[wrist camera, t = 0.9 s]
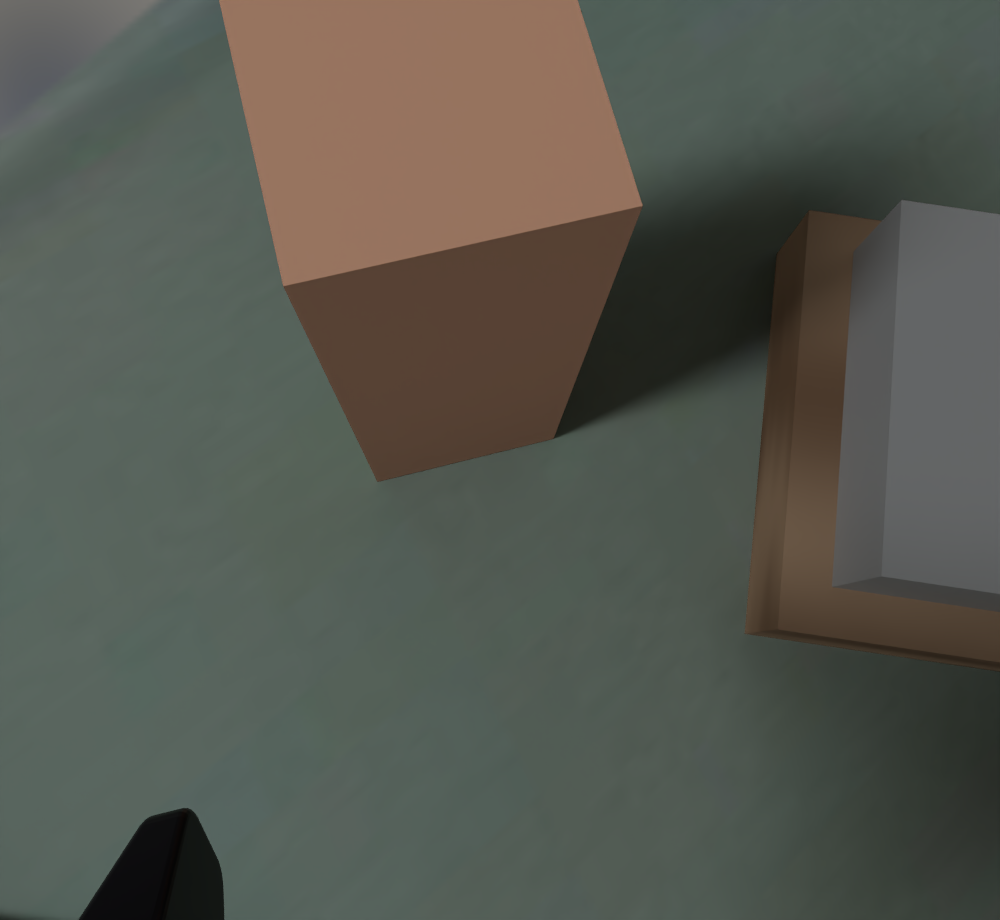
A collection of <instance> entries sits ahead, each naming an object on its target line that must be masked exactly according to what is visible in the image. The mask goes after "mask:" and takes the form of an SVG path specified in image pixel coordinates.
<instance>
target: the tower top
mask: <svg viewBox="0 0 1000 920" xmlns="http://www.w3.org/2000/svg"><path fill="white" fill-rule="evenodd" d="M832 587H835V588H842V589H848V590H855V591H862V592H869V593H875V594H882V595H889V596H895V597H902V598H909V599H915V600H922V601H929V602H936V603H942V604H949V605H956V606H962V607H969V608H976V609H982V610H989V611H996V612H1000V214H993V213H986V212H980V211H973V210H966V209H960V208H953V207H946V206H939V205H933V204H926V203H919V202H913V201H906V200H901V201H900V202H899V203H898V204H897V205H896V206H895V207H894V209H893V210H892V211H891V212H890V213H889V214H888V215H887V216H886V217H885V218H884V219H883V220H882V222H881V223H880V224H879V225H878V226H877V227H876V228H875V229H874V230H873V231H872V232H871V233H870V234H869V236H868V237H867V238H866V239H865V240H864V241H863V242H862V243H861V244H860V245H859V246H858V247H857V248H856V250H855V251H854V252H853V267H852V282H851V298H850V313H849V328H848V343H847V359H846V374H845V389H844V405H843V420H842V436H841V452H840V468H839V483H838V499H837V515H836V530H835V546H834V562H833V578H832Z"/></svg>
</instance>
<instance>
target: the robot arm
mask: <svg viewBox="0 0 1000 920" xmlns="http://www.w3.org/2000/svg"><path fill="white" fill-rule="evenodd" d="M79 920H224V893H223V879H222V872H221V868H220V864H219V861H218V859H217V856H216V854H215V852H214V850H213V848H212V846H211V844H210V842H209V840H208V838H207V836H206V834H205V832H204V830H203V827H202V825H201V823H200V821H199V819H198V817H197V816H196V814H195V813H194V812H193V811H192V810H191V809H188V808H182V809H178V810H174V811H170V812H166V813H162V814H158V815H154V816H151V817H149V818H147V819H146V820H145V821H144V822H143V823H142V824H141V825H140V826H139V828H138V829H137V831H136V832H135V834H134V836H133V837H132V839H131V840H130V842H129V843H128V845H127V846H126V848H125V849H124V851H123V852H122V854H121V855H120V857H119V859H118V860H117V862H116V863H115V865H114V866H113V868H112V869H111V871H110V872H109V874H108V875H107V877H106V878H105V880H104V881H103V883H102V885H101V886H100V888H99V889H98V891H97V892H96V894H95V895H94V897H93V898H92V900H91V901H90V903H89V904H88V906H87V907H86V909H85V911H84V912H83V914H82V915H81V917H80V918H79Z"/></svg>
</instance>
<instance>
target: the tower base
mask: <svg viewBox="0 0 1000 920" xmlns="http://www.w3.org/2000/svg"><path fill="white" fill-rule="evenodd" d="M881 222H882V221H879V220H872V219H866V218H859V217H852V216H845V215H839V214H832V213H825V212H818V211H812V210H809V211H808V212H807V214H806V215H805V216H804V218H803V219H802V221H801V222H800V223H799V225H798V226H797V227H796V229H795V230H794V231H793V233H792V234H791V235H790V237H789V238H788V239H787V241H786V242H785V244H784V245H783V246H782V248H781V249H780V250H779V252H778V253H777V257H776V269H775V281H774V292H773V304H772V316H771V328H770V340H769V352H768V364H767V376H766V388H765V400H764V412H763V424H762V435H761V447H760V459H759V471H758V483H757V495H756V507H755V519H754V531H753V543H752V555H751V567H750V578H749V590H748V602H747V614H746V626H745V634H750V635H757V636H764V637H770V638H777V639H784V640H791V641H797V642H804V643H811V644H818V645H824V646H831V647H838V648H845V649H851V650H858V651H865V652H871V653H878V654H885V655H892V656H898V657H905V658H912V659H919V660H925V661H932V662H939V663H945V664H952V665H959V666H966V667H972V668H979V669H986V670H993V671H999V672H1000V612H996V611H989V610H982V609H976V608H969V607H962V606H956V605H949V604H942V603H936V602H929V601H922V600H915V599H909V598H902V597H895V596H889V595H882V594H875V593H869V592H862V591H855V590H848V589H842V588H835V587H832V578H833V562H834V546H835V530H836V515H837V499H838V483H839V468H840V452H841V436H842V420H843V405H844V389H845V374H846V359H847V343H848V328H849V313H850V298H851V282H852V267H853V252H854V251H855V250H856V248H857V247H858V246H859V245H860V244H861V243H862V242H863V241H864V240H865V239H866V238H867V237H868V236H869V234H870V233H871V232H872V231H873V230H874V229H875V228H876V227H877V226H878V225H879V224H880V223H881Z"/></svg>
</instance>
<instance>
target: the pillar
mask: <svg viewBox="0 0 1000 920" xmlns="http://www.w3.org/2000/svg"><path fill="white" fill-rule="evenodd" d="M219 1H220V6H221V10H222V15H223V19H224V23H225V28H226V32H227V37H228V41H229V46H230V50H231V55H232V59H233V64H234V68H235V73H236V77H237V81H238V86H239V90H240V95H241V99H242V104H243V108H244V113H245V117H246V122H247V126H248V131H249V135H250V139H251V144H252V148H253V153H254V157H255V162H256V166H257V171H258V175H259V180H260V184H261V189H262V193H263V197H264V202H265V206H266V211H267V215H268V220H269V224H270V229H271V233H272V238H273V242H274V247H275V251H276V255H277V260H278V264H279V269H280V273H281V278H282V282H283V286H284V289H285V291H286V293H287V295H288V297H289V299H290V301H291V303H292V305H293V307H294V309H295V311H296V313H297V316H298V318H299V320H300V322H301V324H302V326H303V328H304V330H305V332H306V334H307V336H308V338H309V340H310V343H311V345H312V347H313V349H314V351H315V353H316V355H317V357H318V359H319V361H320V363H321V365H322V367H323V370H324V372H325V374H326V376H327V378H328V380H329V382H330V384H331V386H332V388H333V390H334V392H335V394H336V397H337V399H338V401H339V403H340V405H341V407H342V409H343V411H344V413H345V415H346V417H347V419H348V421H349V424H350V426H351V428H352V430H353V432H354V434H355V436H356V438H357V440H358V442H359V444H360V446H361V448H362V451H363V453H364V455H365V457H366V459H367V461H368V463H369V465H370V467H371V469H372V471H373V473H374V475H375V478H376V480H377V482H379V481H383V480H387V479H391V478H395V477H399V476H403V475H407V474H411V473H416V472H420V471H424V470H428V469H432V468H436V467H440V466H444V465H448V464H452V463H456V462H460V461H465V460H469V459H473V458H477V457H481V456H485V455H489V454H493V453H497V452H501V451H505V450H509V449H514V448H518V447H522V446H526V445H530V444H534V443H538V442H542V441H546V440H550V439H554V436H555V433H556V431H557V428H558V425H559V423H560V420H561V418H562V415H563V412H564V410H565V407H566V405H567V402H568V399H569V397H570V394H571V392H572V389H573V386H574V384H575V381H576V378H577V376H578V373H579V371H580V368H581V365H582V363H583V360H584V358H585V355H586V352H587V350H588V347H589V345H590V342H591V339H592V337H593V334H594V331H595V329H596V326H597V324H598V321H599V318H600V316H601V313H602V311H603V308H604V305H605V303H606V300H607V298H608V295H609V292H610V290H611V287H612V284H613V282H614V279H615V277H616V274H617V271H618V269H619V266H620V264H621V261H622V258H623V256H624V253H625V251H626V248H627V245H628V243H629V240H630V237H631V235H632V232H633V230H634V227H635V224H636V222H637V219H638V217H639V214H640V211H641V209H642V206H643V205H642V202H641V199H640V196H639V193H638V190H637V187H636V183H635V180H634V177H633V174H632V171H631V168H630V164H629V161H628V158H627V155H626V152H625V149H624V145H623V142H622V139H621V136H620V133H619V130H618V127H617V123H616V120H615V117H614V114H613V111H612V108H611V104H610V101H609V98H608V95H607V92H606V89H605V86H604V82H603V79H602V76H601V73H600V70H599V67H598V63H597V60H596V57H595V54H594V51H593V48H592V44H591V41H590V38H589V35H588V32H587V29H586V26H585V22H584V19H583V16H582V13H581V10H580V7H579V3H578V0H219Z"/></svg>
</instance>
